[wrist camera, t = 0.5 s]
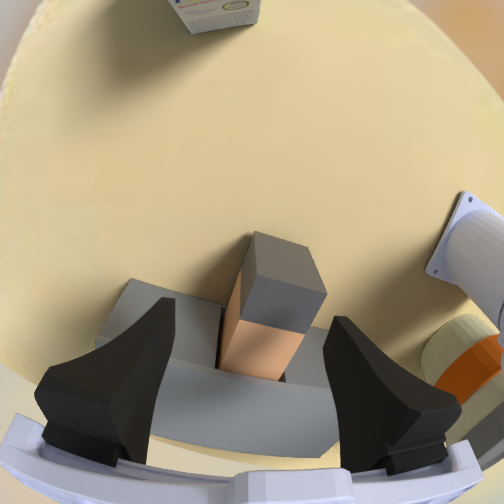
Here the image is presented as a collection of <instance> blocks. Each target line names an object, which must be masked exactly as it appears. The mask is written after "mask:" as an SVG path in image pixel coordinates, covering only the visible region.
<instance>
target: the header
mask: <svg viewBox="0 0 504 504" xmlns="http://www.w3.org/2000/svg"><path fill="white" fill-rule="evenodd" d="M161 297H168V298H174V299H175V329H176V334H175V339H174V344H173V348H172V353H171V356H170V359H169V361H168V364H167V367H166V370H165V373H164V376H163V379H162V382H161V385H160V388H159V391H158V395H157V398H156V403H155V408H154V413H153V418H152V424H151V430H150V434H152V435H155V436H159V437H163V438H167V439H171V440H175V441H180V442H184V443H189V444H193V445H198V446H203V447H209V448H214V449H220V450H227V451H233V452H241V453H248V454H257V455H267V456H279V457H296V458H319V457H321V456H322V455H323V454H324V453H325V452H326V451H327V450H329V449H330V448H331V447H332V446H333V445H334V444H335V443H336V442H337V441H338V440H340V439H339V428H338V420H337V412H336V407H335V403H334V399H333V395H332V392H331V388H330V384H329V381H328V377H327V373H326V369H325V365H324V357H323V345H324V343H325V340H326V337H327V335H328V332H329V330H325V329H320V328H315V327H311V326H310V327H309V329H308V331H307V332H306V334H305V336H304V338H303V340H302V341H301V343H300V345H299V346H298V348H297V350H296V352H295V353H294V355H293V357H292V358H291V360H290V362H289V364H288V365H287V367H286V369H285V370H284V372H283V374H282V375H281V377H280V378H279V380H278V381H272V380H267V379H261V378H256V377H251V376H246V375H241V374H236V373H232V372H227V371H223V370H218V369H215V359H216V350H217V340H218V331H219V328H220V326H221V323H222V320H223V317H224V314H225V311H226V309H227V306H225V305H221V304H217V303H214V302H210V301H207V300H203V299H199V298H196V297H192V296H189V295H185V294H182V293H178V292H175V291H172V290H168V289H165V288H161V287H158V286H155V285H152V284H148V283H145V282H142V281H139V280H136V279H132V278H131V280H130V281H129V283H128V285H127V286H126V288H125V290H124V291H123V293H122V295H121V296H120V298H119V300H118V301H117V303H116V305H115V306H114V308H113V310H112V312H111V313H110V315H109V317H108V318H107V320H106V322H105V324H104V325H103V327H102V329H101V331H100V333H99V334H98V336H97V338H96V340H95V347H96V349H98V348H99V347H101V346H103V345H105V344H107V343H108V342H110V341H111V340H113V339H114V338H116V337H117V336H119V335H120V334H121V333H123V332H124V331H125V330H126V329H128V328H129V327H130V326H131V325H133V324H134V323H135V322H136V321H137V320H138V319H139V318H140V317H141V316H143V315H144V314H145V313H146V312H147V311H148V310H149V309H150V308H151V307H152V306H153V305H154V304H155V303H156V302H157V301H158V300H159V299H160V298H161Z"/></svg>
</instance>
